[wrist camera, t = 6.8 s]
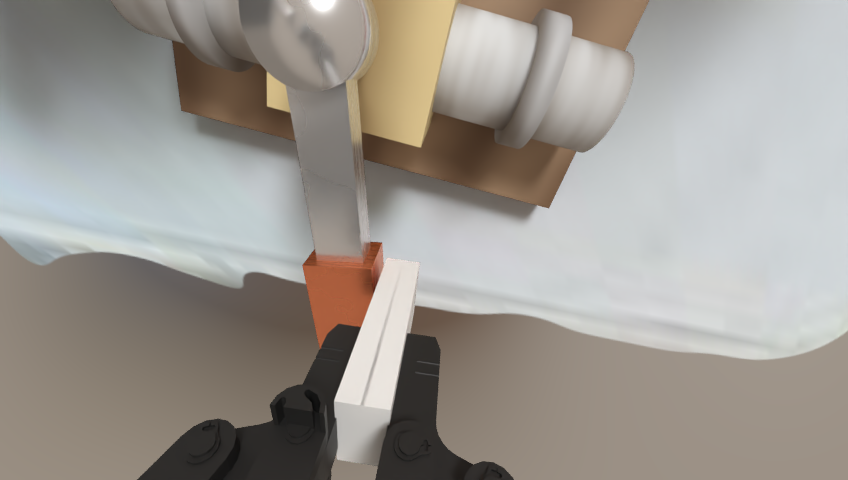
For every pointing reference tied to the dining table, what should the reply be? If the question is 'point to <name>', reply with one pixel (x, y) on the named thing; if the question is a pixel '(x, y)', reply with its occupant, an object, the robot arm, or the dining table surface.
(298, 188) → the dining table surface
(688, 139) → the dining table surface
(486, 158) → the valve stand
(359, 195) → the valve lever
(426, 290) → the dining table surface
